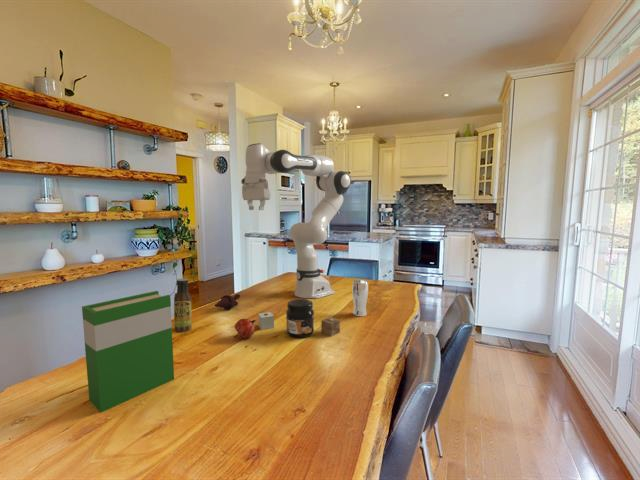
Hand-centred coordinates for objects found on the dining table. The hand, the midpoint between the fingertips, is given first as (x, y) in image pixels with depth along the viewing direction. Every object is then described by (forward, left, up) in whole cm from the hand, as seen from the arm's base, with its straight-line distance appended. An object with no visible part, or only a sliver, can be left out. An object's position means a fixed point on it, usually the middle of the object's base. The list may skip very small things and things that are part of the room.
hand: (256, 210), depth 145 cm
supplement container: (-1, +38, -46) cm, 60 cm away
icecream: (+13, -4, -46) cm, 48 cm away
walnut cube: (-11, +44, -46) cm, 65 cm away
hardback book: (+54, +45, -46) cm, 85 cm away
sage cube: (+7, +25, -46) cm, 53 cm away
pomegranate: (+18, +30, -46) cm, 58 cm away
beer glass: (-34, +35, -46) cm, 67 cm away
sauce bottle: (+35, +10, -46) cm, 59 cm away
